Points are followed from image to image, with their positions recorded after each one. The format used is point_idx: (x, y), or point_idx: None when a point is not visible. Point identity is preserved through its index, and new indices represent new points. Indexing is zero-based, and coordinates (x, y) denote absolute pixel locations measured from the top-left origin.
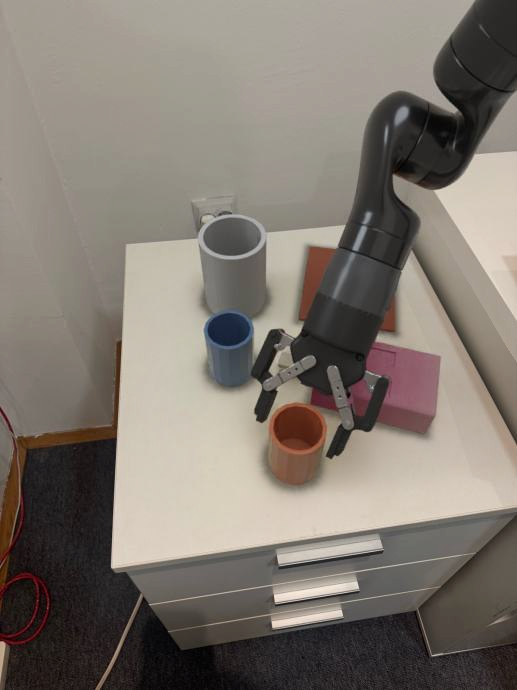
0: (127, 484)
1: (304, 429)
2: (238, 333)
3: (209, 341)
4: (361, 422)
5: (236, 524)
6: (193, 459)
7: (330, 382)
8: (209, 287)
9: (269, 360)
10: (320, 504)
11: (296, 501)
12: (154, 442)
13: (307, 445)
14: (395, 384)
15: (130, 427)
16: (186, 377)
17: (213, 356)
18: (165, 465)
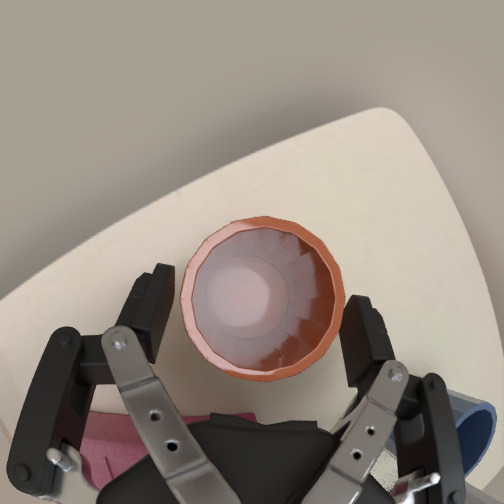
0: (437, 181)
1: (247, 346)
2: None
3: (489, 404)
4: (85, 355)
5: (296, 165)
6: (394, 239)
7: (207, 461)
8: (468, 485)
9: (407, 440)
10: (178, 236)
11: (218, 227)
12: (443, 244)
13: (231, 331)
14: (106, 480)
15: (470, 254)
16: (447, 360)
17: (461, 394)
18: (419, 217)
